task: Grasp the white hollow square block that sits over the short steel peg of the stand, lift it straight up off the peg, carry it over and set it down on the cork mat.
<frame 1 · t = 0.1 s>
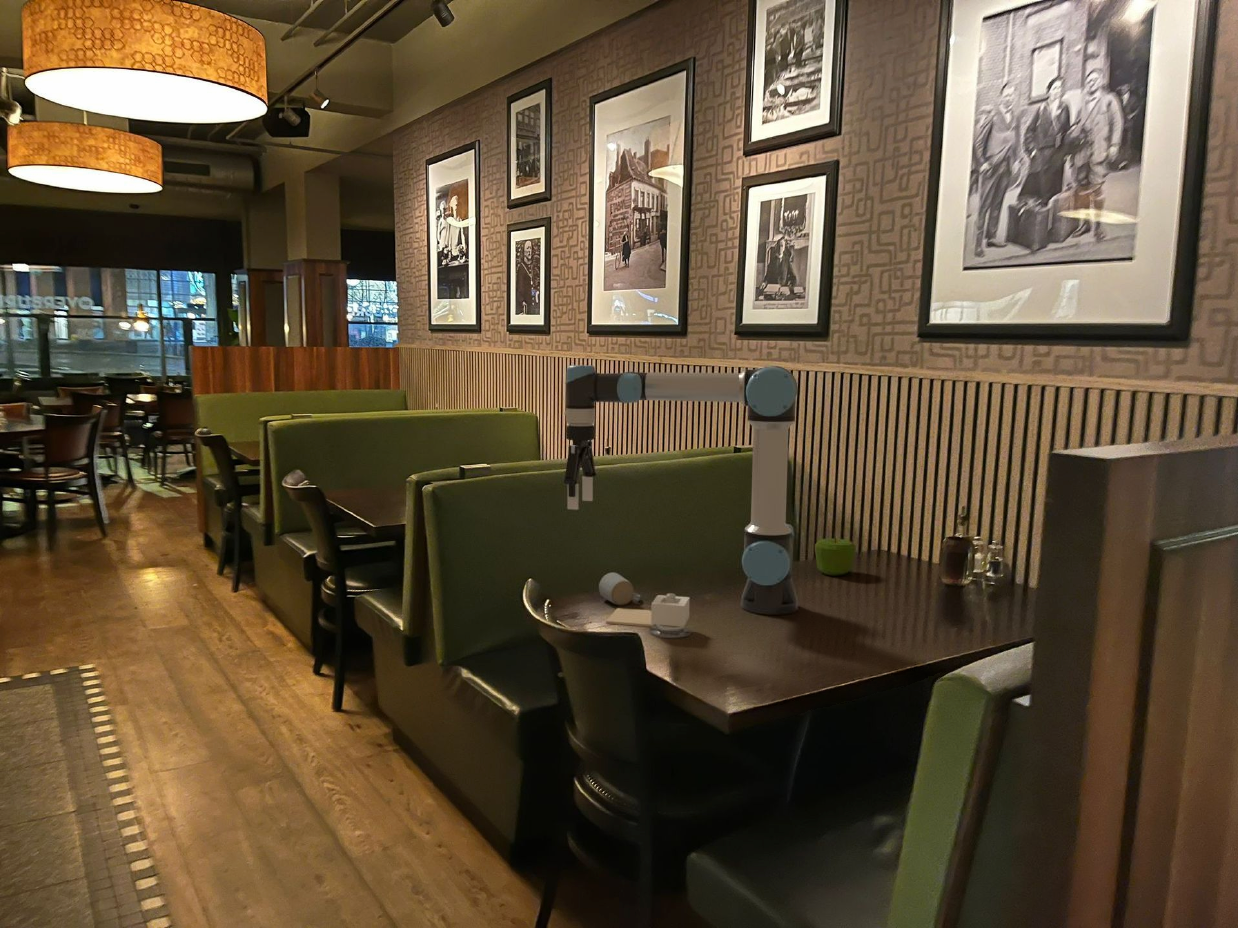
hand: (580, 504, 235), 28 cm above the table, fingers open, 13 cm apart
mat: (634, 618, 230), on the table
ceramic mug: (620, 602, 245), on the table
apple: (834, 573, 278), on the table
stand: (670, 632, 219), on the table
white hollow square block: (670, 620, 218), point 3 cm above the table, touching stand
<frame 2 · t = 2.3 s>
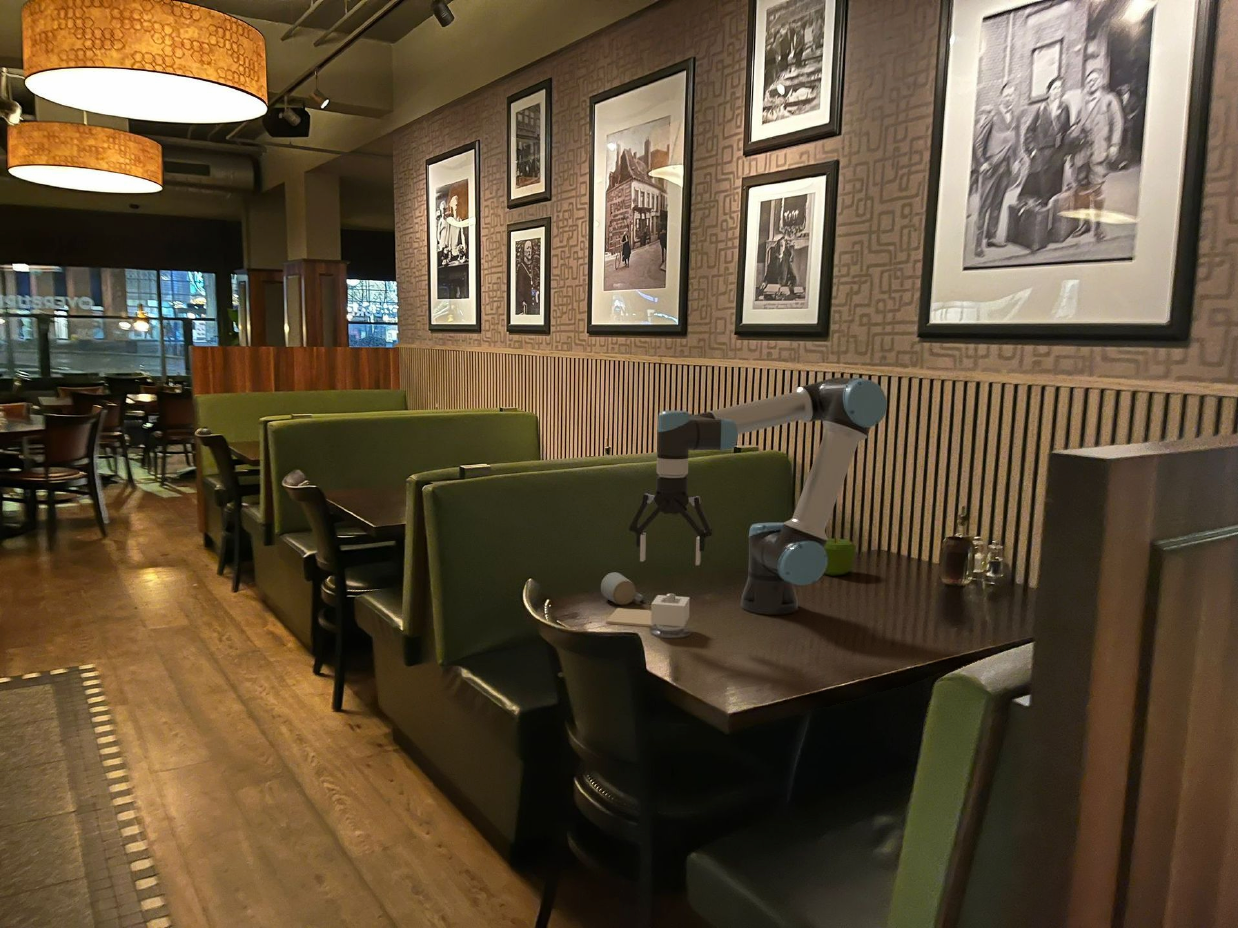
hand: (670, 562, 216), 18 cm above the table, fingers open, 13 cm apart
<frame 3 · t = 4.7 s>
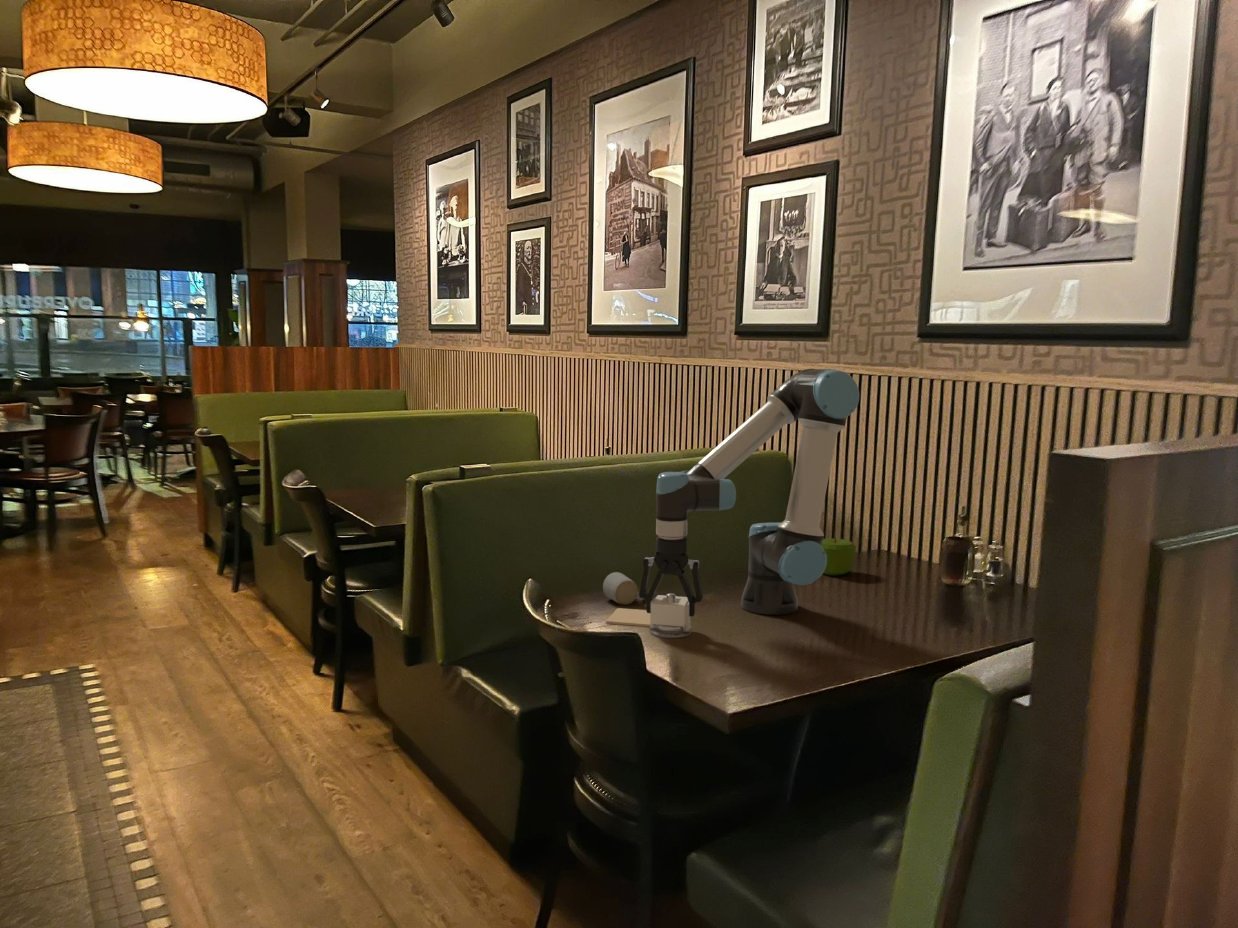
hand: (670, 627, 218), 1 cm above the table, fingers closed on white hollow square block, 8 cm apart
white hollow square block: (670, 620, 218), point 3 cm above the table, touching gripper, stand
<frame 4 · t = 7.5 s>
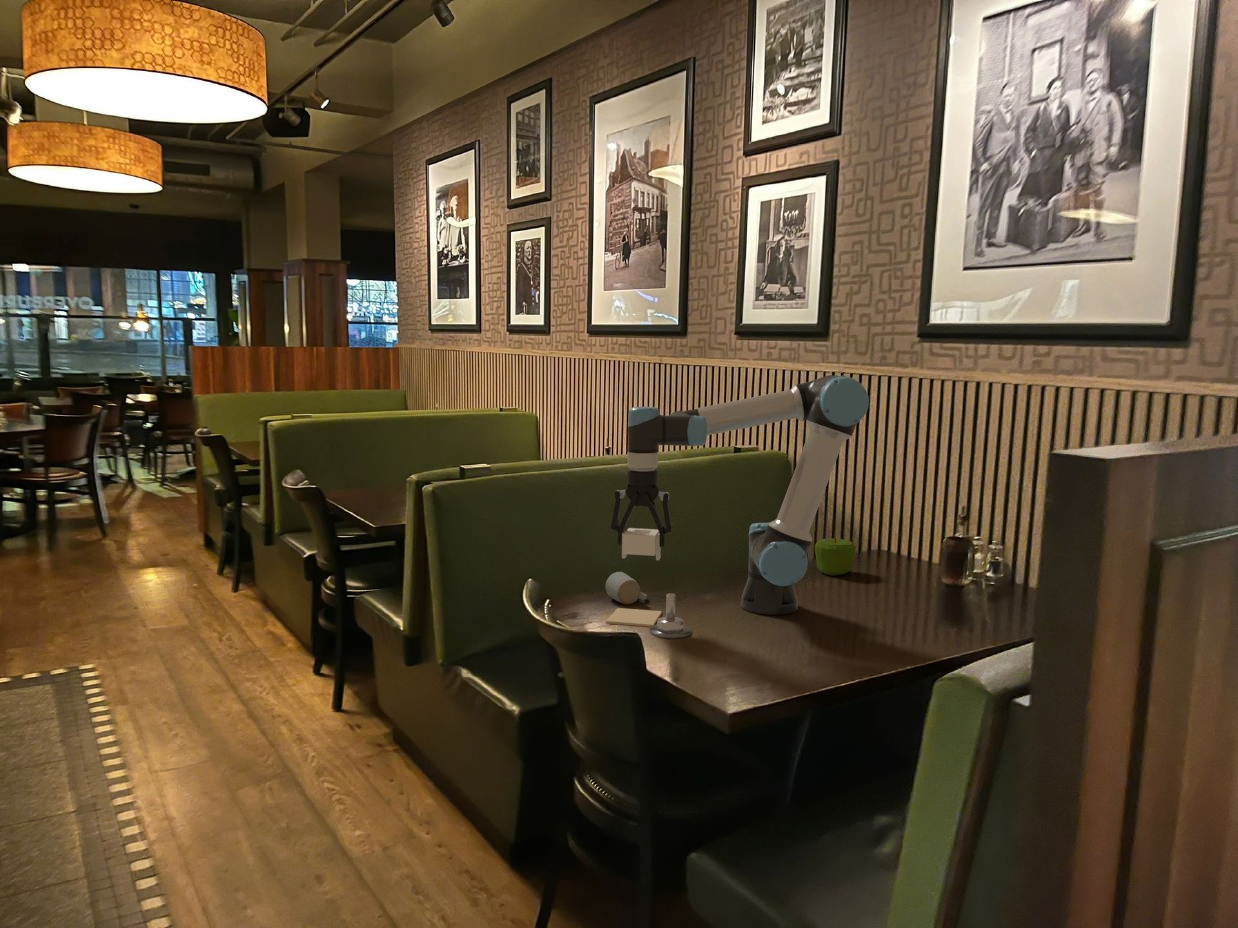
hand: (641, 558, 225), 16 cm above the table, fingers closed on white hollow square block, 8 cm apart
white hollow square block: (641, 551, 225), point 18 cm above the table, touching gripper
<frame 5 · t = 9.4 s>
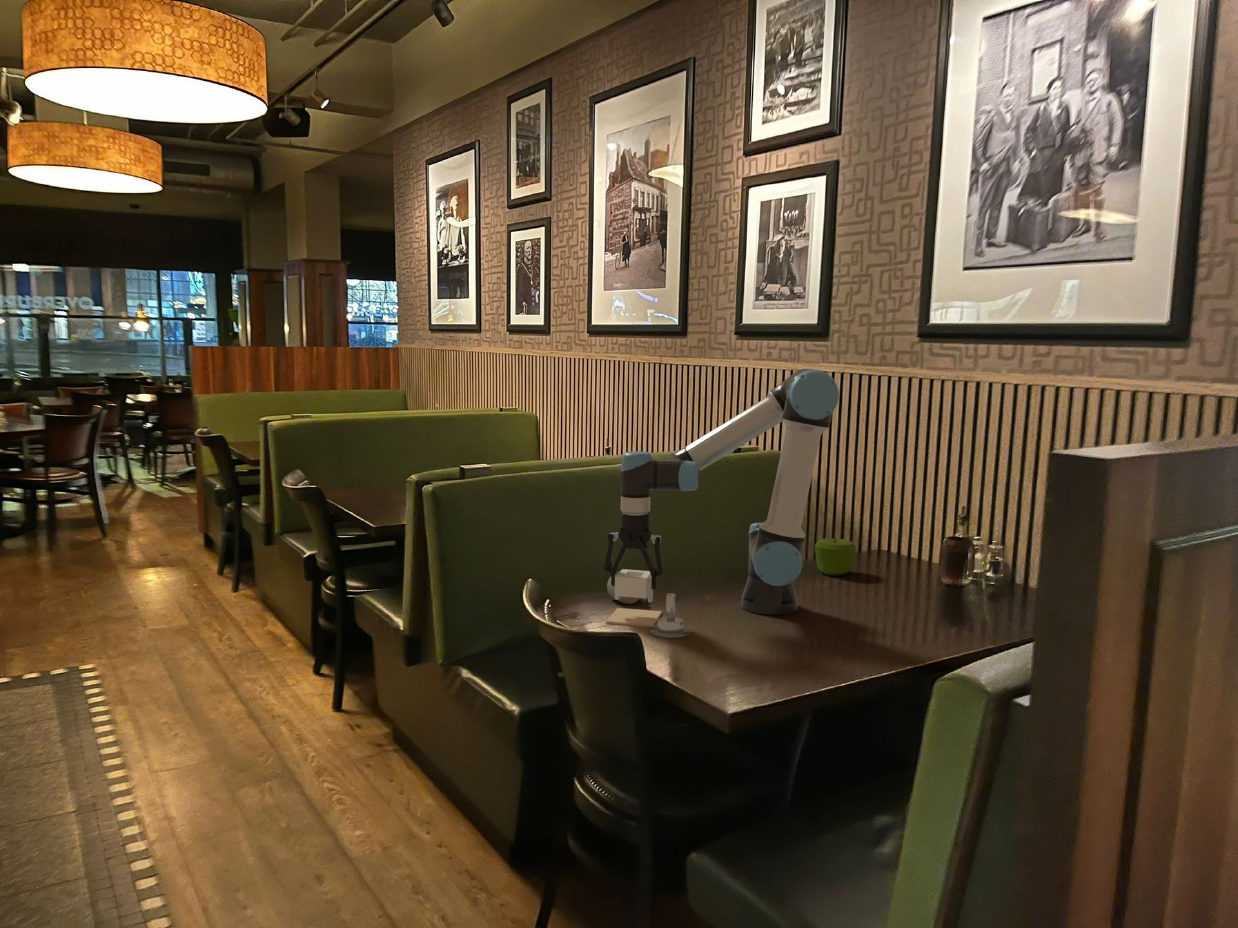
hand: (633, 599, 229), 5 cm above the table, fingers closed on white hollow square block, 8 cm apart
white hollow square block: (633, 592, 229), point 7 cm above the table, touching gripper
when the fingers open (2 cm above the table, at t = 10.8 s): white hollow square block drops 3 cm, resting on mat.
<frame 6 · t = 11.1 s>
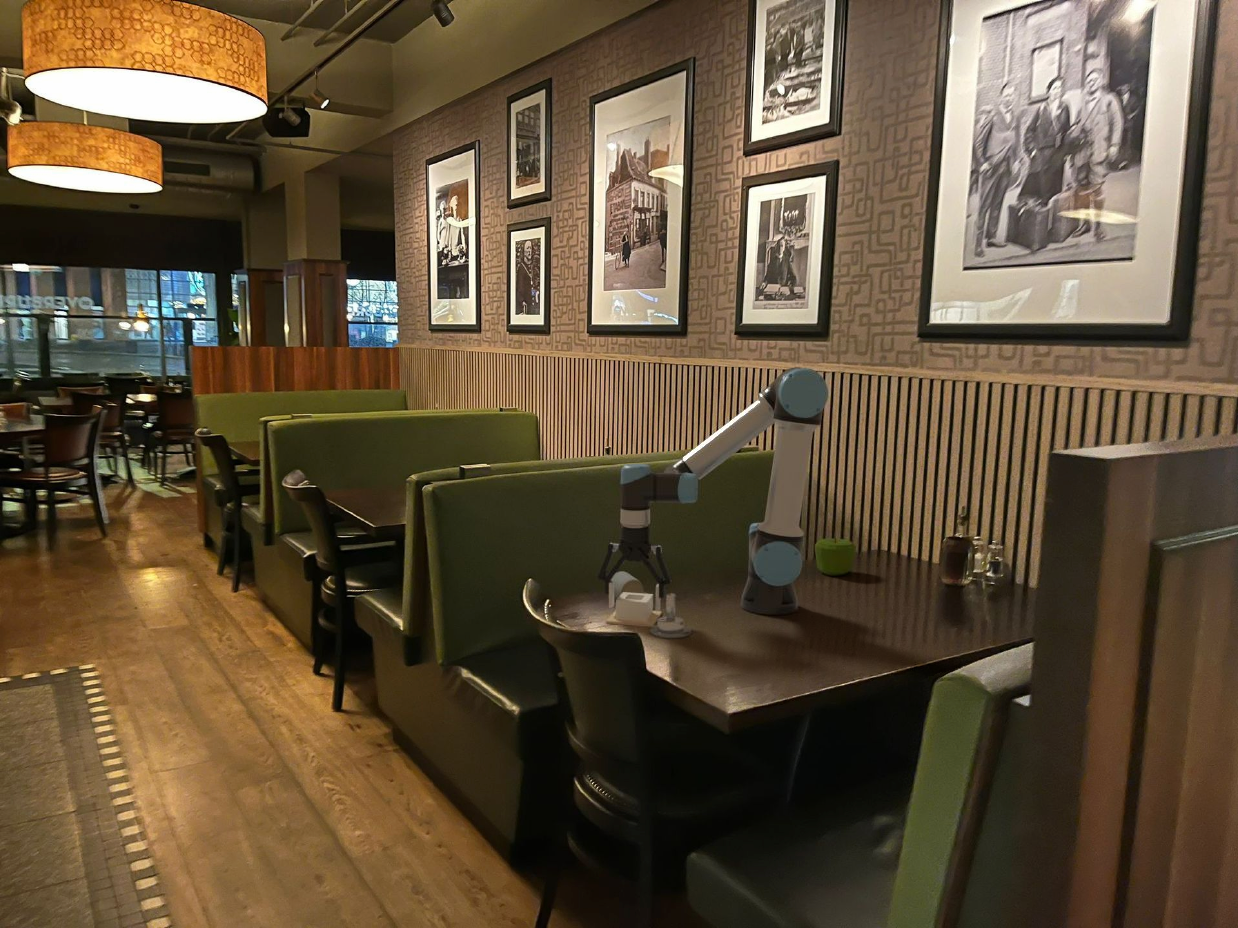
hand: (634, 608, 229), 3 cm above the table, fingers open, 11 cm apart
white hollow square block: (634, 616, 230), point 1 cm above the table, touching mat
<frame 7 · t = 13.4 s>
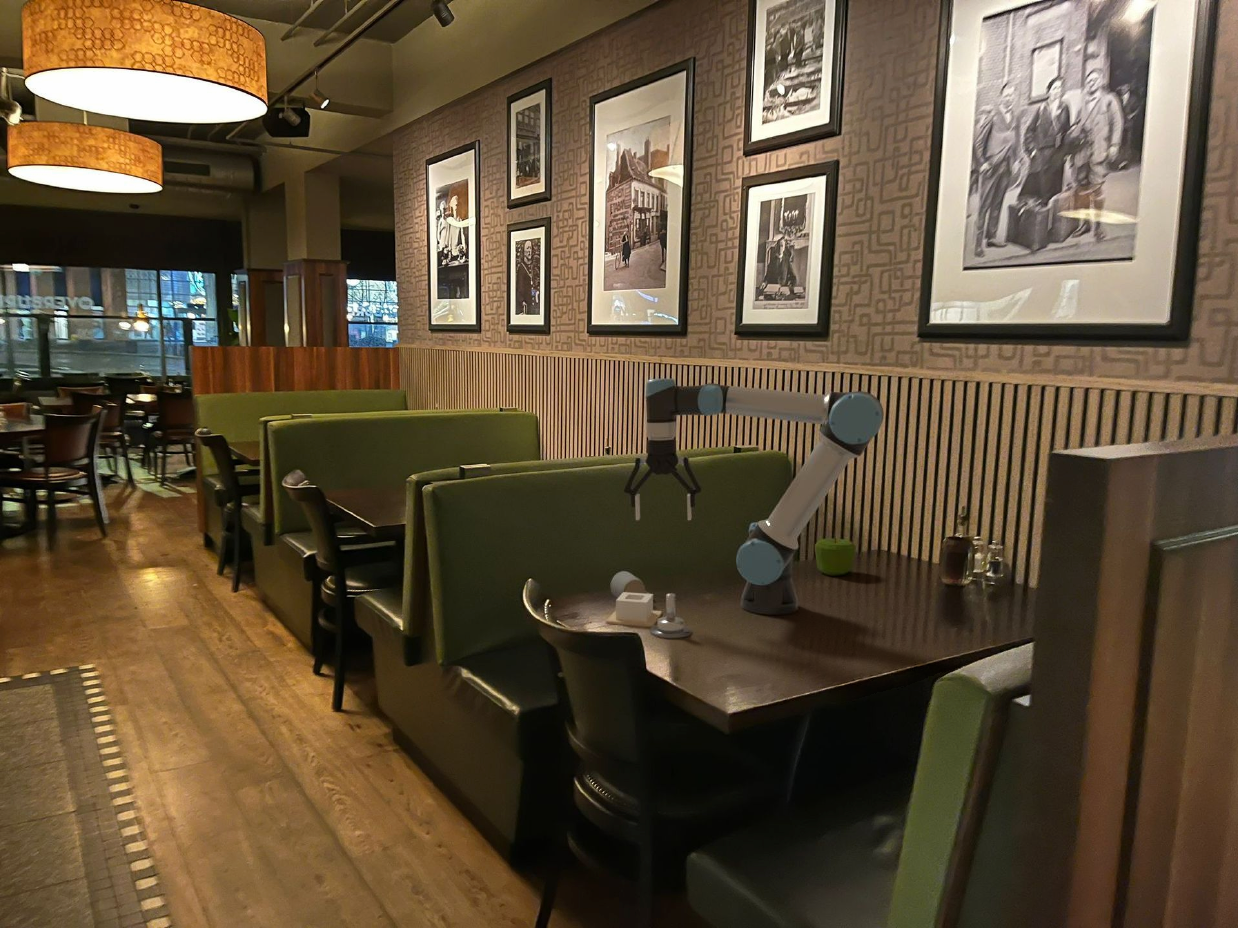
hand: (663, 519, 233), 25 cm above the table, fingers open, 13 cm apart
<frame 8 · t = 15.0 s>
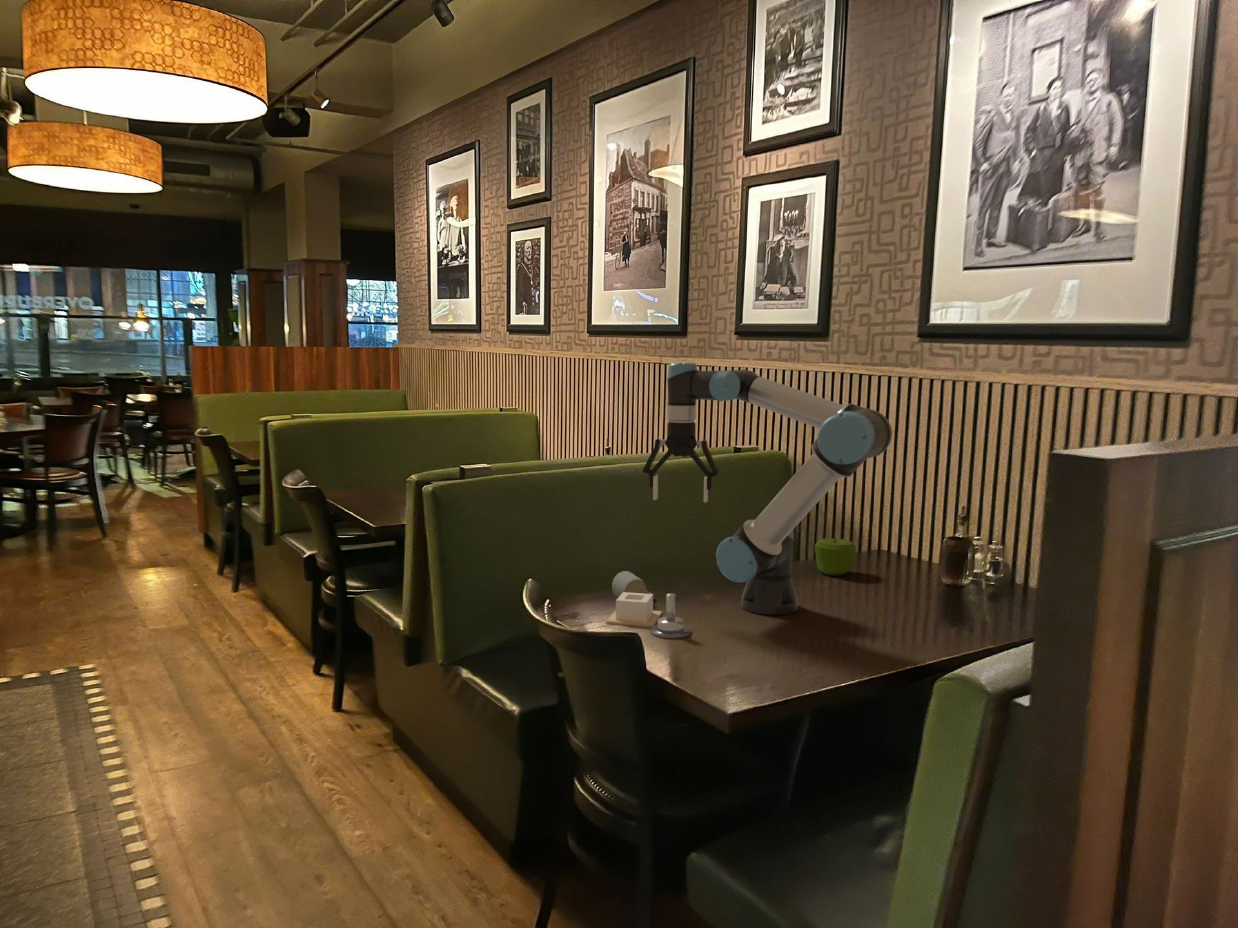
hand: (680, 500, 239), 29 cm above the table, fingers open, 13 cm apart
at the end: white hollow square block inside the target area on the mat (0.0 cm from its centre), point 0.6 cm above the mat's base; white hollow square block 14.2 cm from the stand (horizontally); the gripper is holding nothing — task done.
